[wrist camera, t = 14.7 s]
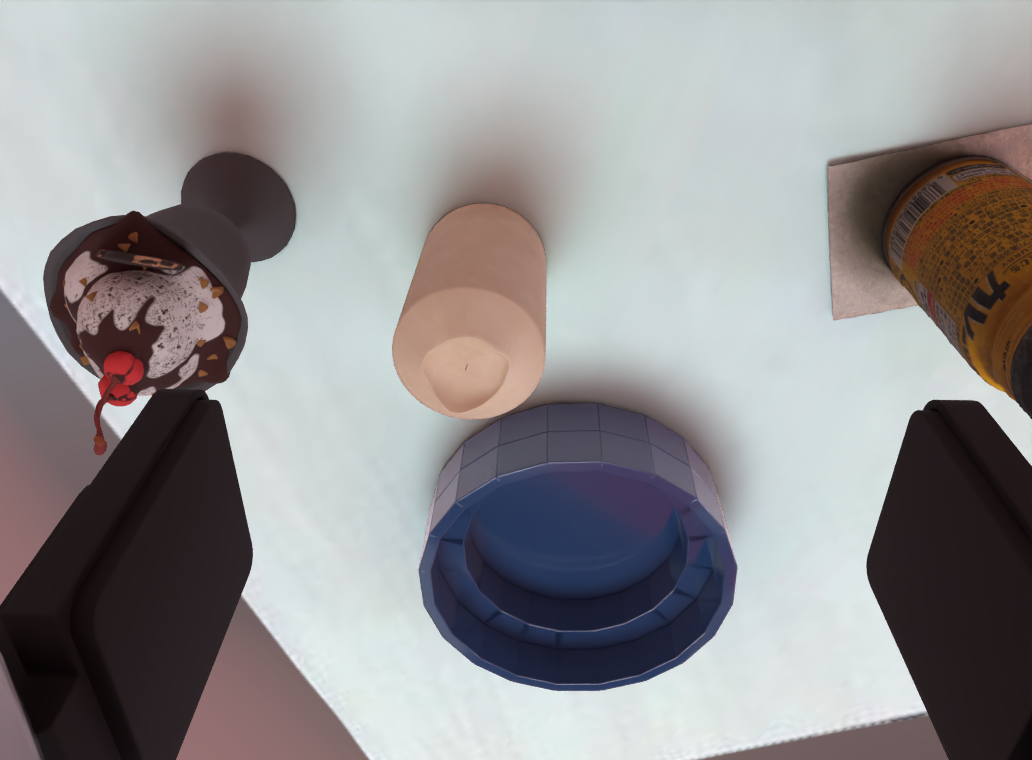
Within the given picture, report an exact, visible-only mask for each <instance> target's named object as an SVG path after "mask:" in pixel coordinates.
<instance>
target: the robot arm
mask: <svg viewBox="0 0 1032 760" xmlns="http://www.w3.org/2000/svg"><path fill="white" fill-rule="evenodd" d="M252 559H253V548H252V542H251V538H250V533H249V528H248V524H247V519H246V515H245V510H244V506H243V501H242V497H241V492H240V488H239V483H238V478H237V474H236V469H235V465H234V460H233V456H232V451H231V447H230V442H229V437H228V433H227V428H226V424H225V419H224V415H223V410H222V407H221V404H220V403H219V401H217V400H209V398H208V396H207V394H206V393H205V391H203V390H202V389H159V390H157V391H156V392H155V393H154V394H153V396H152V397H151V398H150V400H149V401H148V403H147V404H146V406H145V407H144V408H143V410H142V411H141V413H140V414H139V416H138V417H137V418H136V420H135V421H134V423H133V424H132V426H131V427H130V428H129V430H128V431H127V433H126V434H125V436H124V437H123V438H122V440H121V441H120V443H119V444H118V446H117V447H116V449H115V450H114V451H113V453H112V454H111V456H110V457H109V458H108V460H107V461H106V463H105V464H104V466H103V467H102V469H101V470H100V471H99V473H98V474H97V476H96V477H95V479H94V480H93V481H92V483H91V484H90V485H88V486H86V487H85V488H84V490H83V491H82V492H81V493H80V494H79V495H78V496H77V498H76V499H75V501H74V502H73V503H72V505H71V506H70V508H69V509H68V511H67V512H66V513H65V515H64V516H63V518H62V519H61V520H60V522H59V523H58V525H57V526H56V527H55V529H54V530H53V532H52V533H51V535H50V536H49V538H48V539H47V540H46V542H45V543H44V544H43V546H42V547H41V549H40V550H39V552H38V553H37V555H36V556H35V557H34V559H33V560H32V561H31V563H30V564H29V566H28V567H27V568H26V570H25V571H24V573H23V574H22V576H21V577H20V578H19V580H18V581H17V583H16V584H15V586H14V587H13V589H12V590H11V591H10V593H9V594H8V595H7V597H6V598H5V600H4V601H3V602H2V604H1V605H0V760H176V758H177V756H178V753H179V750H180V748H181V745H182V743H183V740H184V738H185V735H186V733H187V730H188V728H189V725H190V723H191V720H192V718H193V715H194V713H195V710H196V708H197V705H198V702H199V700H200V697H201V695H202V692H203V690H204V687H205V685H206V682H207V680H208V677H209V675H210V672H211V670H212V667H213V665H214V662H215V659H216V657H217V654H218V652H219V649H220V647H221V644H222V641H223V639H224V637H225V634H226V631H227V629H228V627H229V624H230V622H231V619H232V616H233V614H234V611H235V609H236V606H237V604H238V601H239V599H240V596H241V594H242V591H243V589H244V586H245V584H246V581H247V579H248V576H249V573H250V570H251V566H252ZM866 567H867V576H868V580H869V583H870V586H871V588H872V590H873V593H874V595H875V597H876V599H877V601H878V604H879V606H880V608H881V610H882V613H883V615H884V617H885V619H886V621H887V624H888V626H889V628H890V630H891V633H892V635H893V637H894V639H895V641H896V644H897V646H898V648H899V650H900V652H901V655H902V657H903V659H904V661H905V664H906V666H907V668H908V670H909V672H910V675H911V677H912V679H913V681H914V684H915V686H916V688H917V690H918V692H919V695H920V697H921V699H922V701H923V704H924V706H925V708H926V710H927V712H928V715H929V717H930V719H931V721H932V723H933V726H934V728H935V730H936V732H937V734H938V737H939V739H940V741H941V743H942V746H943V748H944V750H945V752H946V754H947V757H948V759H949V760H1032V466H1031V465H1030V464H1029V462H1028V461H1027V460H1026V459H1025V457H1024V456H1023V455H1022V454H1021V452H1020V451H1019V450H1018V449H1017V447H1016V446H1015V445H1014V444H1013V442H1012V441H1011V440H1010V439H1009V437H1008V436H1007V435H1006V434H1005V432H1004V431H1003V430H1002V429H1001V427H1000V426H999V425H998V424H997V422H996V421H995V420H994V419H993V417H992V416H991V415H990V414H989V412H988V411H987V410H986V409H985V407H984V406H983V405H982V404H981V403H979V402H978V401H972V400H932V401H930V402H928V403H927V404H926V406H925V407H924V409H923V410H917V411H915V412H914V413H913V414H912V415H911V417H910V420H909V423H908V426H907V429H906V432H905V436H904V439H903V442H902V445H901V449H900V452H899V455H898V459H897V462H896V465H895V468H894V472H893V475H892V478H891V481H890V485H889V488H888V491H887V494H886V498H885V501H884V504H883V507H882V511H881V514H880V517H879V520H878V524H877V527H876V530H875V533H874V537H873V540H872V543H871V546H870V550H869V553H868V557H867V566H866Z"/></svg>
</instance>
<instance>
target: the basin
mask: <svg viewBox="0 0 1032 760" xmlns="http://www.w3.org/2000/svg"><path fill="white" fill-rule="evenodd" d="M736 575H737V563H736V559H735V555H734V552H733V548H732V544H731V540H730V536H729V533H728V529H727V525H726V521H725V517H724V514H723V510H722V506H721V502H720V499H719V496H718V493H717V490H716V487H715V484H714V481H713V478H712V475H711V472H710V470H709V468H708V466H707V465H706V464H705V463H704V462H703V461H702V459H701V458H700V457H699V456H698V455H697V453H696V452H695V451H694V450H693V449H692V448H691V446H690V445H689V444H688V443H687V442H686V440H685V439H684V438H682V437H681V436H679V435H677V434H676V433H674V432H672V431H671V430H669V429H667V428H666V427H664V426H662V425H660V424H659V423H657V422H655V421H654V420H652V419H650V418H649V417H647V416H644V415H642V414H638V413H634V412H630V411H626V410H622V409H618V408H614V407H610V406H606V405H602V404H597V403H580V404H548V405H543V406H540V407H536V408H533V409H530V410H526V411H523V412H519V413H516V414H513V415H509V416H506V417H503V418H501V419H499V420H498V421H496V422H495V423H493V424H492V425H490V426H489V427H487V428H485V429H484V430H482V431H481V432H479V433H478V434H476V435H475V436H473V437H472V438H470V439H469V440H467V441H466V442H464V443H463V445H462V446H461V447H460V448H459V450H458V451H457V452H456V454H455V455H454V456H453V457H452V459H451V460H450V461H449V463H448V464H447V465H446V466H445V468H444V469H443V470H442V472H441V474H440V475H439V479H438V482H437V486H436V489H435V493H434V496H433V500H432V503H431V507H430V512H429V517H428V523H427V528H426V533H425V538H424V544H423V549H422V554H421V560H420V565H419V577H420V584H421V591H422V597H423V604H424V607H425V609H426V610H427V612H428V614H429V615H430V617H431V619H432V620H433V622H434V624H435V625H436V627H437V629H438V630H439V632H440V634H441V635H442V637H444V639H445V640H446V641H447V642H449V643H450V644H451V645H452V646H453V647H454V648H456V649H457V650H458V651H459V652H460V653H462V654H463V655H464V656H465V657H466V658H467V659H469V660H470V661H471V662H472V663H474V664H475V665H477V666H479V667H482V668H484V669H486V670H488V671H490V672H492V673H494V674H497V675H499V676H501V677H503V678H505V679H507V680H509V681H512V682H516V683H521V684H525V685H530V686H535V687H539V688H544V689H549V690H554V691H555V690H556V691H600V690H607V689H611V688H616V687H621V686H625V685H630V684H634V683H639V682H643V681H647V680H649V679H651V678H653V677H655V676H657V675H659V674H661V673H664V672H666V671H668V670H670V669H672V668H674V667H676V666H678V665H680V664H683V662H685V661H686V660H687V659H689V658H690V657H691V656H692V655H693V654H694V653H696V652H697V651H698V650H699V649H700V648H701V647H702V646H704V645H705V644H706V643H707V642H708V641H709V640H711V639H712V638H713V637H714V636H715V634H716V632H717V631H718V629H719V627H720V626H721V624H722V622H723V620H724V619H725V617H726V615H727V613H728V612H729V610H730V608H731V606H732V605H733V600H734V592H735V583H736Z"/></svg>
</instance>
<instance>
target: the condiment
mask: <svg viewBox="0 0 1032 760" xmlns="http://www.w3.org/2000/svg"><path fill="white" fill-rule="evenodd" d="M828 210H829V239H830V264H831V280H832V303H833V320H839V319H844V318H852V317H857V316H862V315H866V314H875V313H881V312H885V311H888V310H895V309H903V308H907V307H911V306H917V305H919V306H920V307H921V308H922V309H923V310H924V311H925V312H926V314H927V315H928V316H929V317H930V318H931V319H932V320H933V321H934V323H935V324H936V326H937V327H938V328H939V329H940V330H941V331H942V332H943V334H944V335H945V336H946V337H947V339H948V340H949V342H950V343H951V344H952V345H953V346H954V347H955V349H956V350H957V351H958V352H959V353H960V355H961V356H962V357H963V358H964V359H965V360H966V361H967V363H968V364H969V365H970V367H971V368H972V369H973V370H974V371H975V372H976V373H977V374H978V375H979V376H980V377H981V378H982V379H983V380H984V381H985V382H987V383H988V384H990V385H991V386H993V387H995V388H996V389H999V390H1001V391H1003V392H1006V393H1007V394H1008V396H1009V397H1010V398H1012V399H1013V400H1015V401H1016V402H1017V403H1018V404H1019V405H1020V407H1021V408H1022V409H1023V411H1025V412H1026V413H1027V414H1028V415H1029V416H1030V418H1031V419H1032V124H1029V125H1024V126H1019V127H1014V128H1009V129H1003V130H998V131H994V132H990V133H986V134H978V135H973V136H969V137H963V138H960V139H957V140H950V141H946V142H942V143H938V144H932V145H928V146H925V147H921V148H917V149H913V150H905V151H900V152H896V153H891V154H885V155H880V156H875V157H871V158H867V159H863V160H860V161H856V162H851V163H845V164H840V165H836V166H831V167H828Z"/></svg>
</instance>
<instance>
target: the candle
mask: <svg viewBox="0 0 1032 760" xmlns="http://www.w3.org/2000/svg"><path fill="white" fill-rule="evenodd" d="M546 279H547V269H546V255H545V251H544V247H543V245H542V242H541V240H540V238H539V236H538V234H537V232H536V231H535V229H534V228H533V227H532V226H531V224H530V223H529V222H528V221H527V220H526V219H524V218H523V217H522V216H521V215H519V214H517V213H516V212H514V211H512V210H510V209H508V208H506V207H502V206H499V205H494V204H485V203H479V204H471V205H466V206H463V207H460V208H458V209H456V210H454V211H452V212H450V213H449V214H447V215H446V216H444V217H443V218H442V219H441V220H440V221H439V222H438V223H437V224H436V225H435V226H434V228H433V229H432V230H431V232H430V234H429V235H428V237H427V240H426V242H425V244H424V247H423V249H422V252H421V255H420V258H419V261H418V264H417V267H416V270H415V273H414V276H413V279H412V282H411V285H410V288H409V291H408V294H407V297H406V300H405V303H404V306H403V309H402V312H401V315H400V318H399V321H398V324H397V327H396V330H395V334H394V338H393V345H392V355H393V361H394V366H395V369H396V371H397V374H398V376H399V378H400V380H401V382H402V383H403V385H404V386H405V387H406V389H407V390H408V391H409V392H410V393H411V394H412V396H414V397H415V398H416V399H417V400H418V401H419V402H421V403H422V404H424V405H425V406H427V407H428V408H430V409H432V410H434V411H436V412H438V413H441V414H443V415H447V416H450V417H454V418H460V419H472V420H473V419H485V418H491V417H495V416H498V415H501V414H504V413H506V412H508V411H510V410H512V409H514V408H516V407H517V406H519V405H520V404H521V403H523V402H524V401H525V400H526V399H527V398H528V397H529V396H530V395H531V394H532V392H533V391H534V390H535V388H536V387H537V385H538V383H539V381H540V379H541V376H542V374H543V370H544V366H545V352H546Z"/></svg>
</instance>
